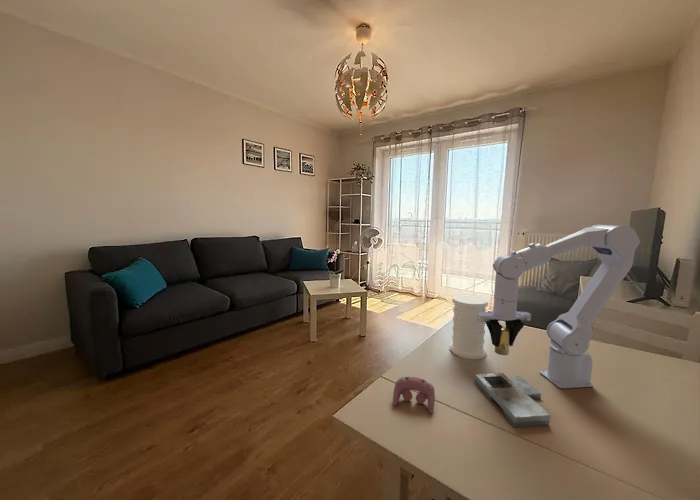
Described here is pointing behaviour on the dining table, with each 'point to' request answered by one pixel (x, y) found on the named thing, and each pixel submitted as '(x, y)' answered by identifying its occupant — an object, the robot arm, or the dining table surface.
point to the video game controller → (416, 384)
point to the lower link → (518, 381)
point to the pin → (503, 342)
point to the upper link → (514, 402)
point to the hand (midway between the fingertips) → (502, 344)
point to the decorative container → (468, 327)
